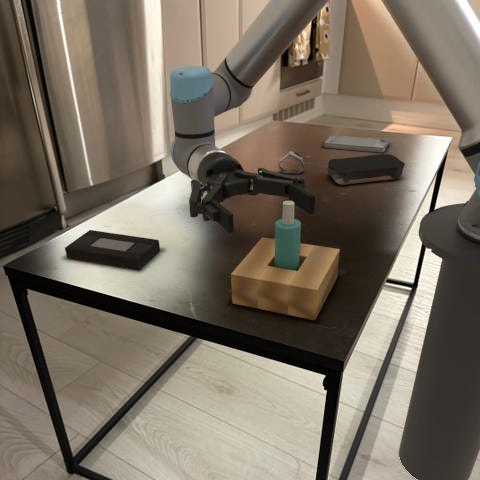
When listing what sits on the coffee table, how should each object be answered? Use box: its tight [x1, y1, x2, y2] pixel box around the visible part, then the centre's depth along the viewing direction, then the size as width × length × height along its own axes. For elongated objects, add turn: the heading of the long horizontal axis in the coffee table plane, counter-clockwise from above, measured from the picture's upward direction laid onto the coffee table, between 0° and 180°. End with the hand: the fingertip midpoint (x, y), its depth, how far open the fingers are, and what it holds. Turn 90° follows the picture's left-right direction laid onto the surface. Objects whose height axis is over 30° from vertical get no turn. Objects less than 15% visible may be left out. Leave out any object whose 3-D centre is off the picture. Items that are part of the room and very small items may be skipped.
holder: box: [230, 237, 341, 321], centre depth 75 cm, size 13×13×5 cm
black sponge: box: [326, 153, 406, 186], centre depth 115 cm, size 16×8×4 cm, turn 101°
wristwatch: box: [277, 150, 305, 175], centre depth 119 cm, size 4×6×5 cm, turn 93°
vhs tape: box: [64, 229, 161, 271], centre depth 88 cm, size 8×14×2 cm, turn 70°
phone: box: [323, 134, 389, 154], centre depth 136 cm, size 8×16×1 cm, turn 67°
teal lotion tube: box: [274, 200, 302, 271], centre depth 73 cm, size 4×4×14 cm
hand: (273, 214), depth 74 cm, fingers open, 13 cm apart
